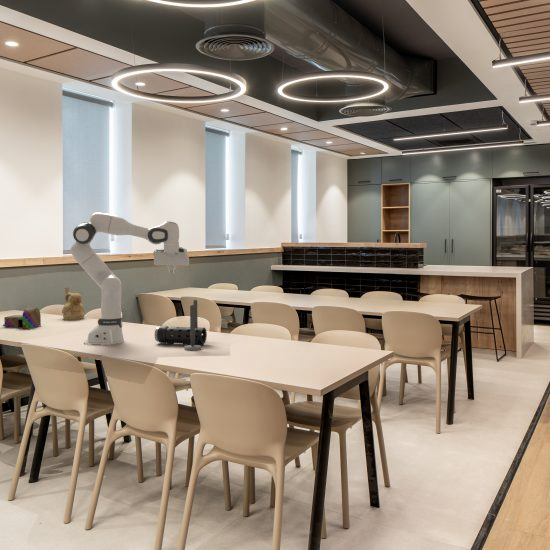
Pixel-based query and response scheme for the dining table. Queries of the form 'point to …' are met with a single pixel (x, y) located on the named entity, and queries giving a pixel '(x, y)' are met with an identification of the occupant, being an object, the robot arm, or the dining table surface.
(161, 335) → the muzzle brake
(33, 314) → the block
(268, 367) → the dining table surface
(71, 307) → the tan eared figurine
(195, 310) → the far cord post
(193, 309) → the post
